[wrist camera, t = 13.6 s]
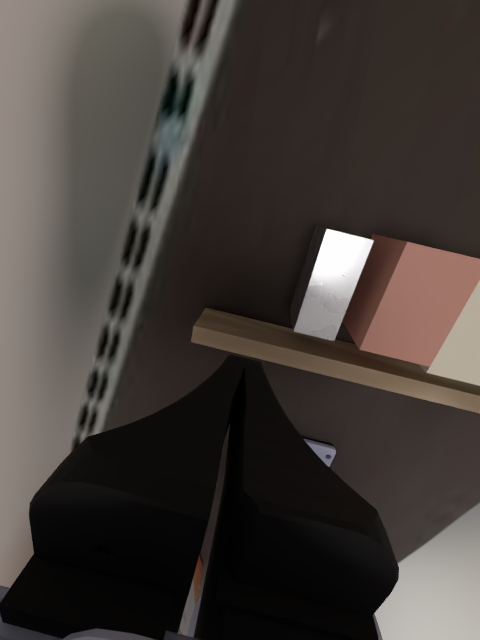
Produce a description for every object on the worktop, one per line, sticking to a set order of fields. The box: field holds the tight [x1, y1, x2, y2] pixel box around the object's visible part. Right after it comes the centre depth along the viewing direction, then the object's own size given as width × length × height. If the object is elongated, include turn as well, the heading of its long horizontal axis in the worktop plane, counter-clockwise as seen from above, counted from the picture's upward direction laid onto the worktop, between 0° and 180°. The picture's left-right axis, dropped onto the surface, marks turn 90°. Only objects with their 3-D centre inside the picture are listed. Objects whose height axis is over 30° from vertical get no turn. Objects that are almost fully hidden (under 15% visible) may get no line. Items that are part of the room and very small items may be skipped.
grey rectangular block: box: [290, 225, 374, 341], centre depth 17 cm, size 6×2×4 cm, turn 168°
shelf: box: [191, 308, 480, 413], centre depth 16 cm, size 10×24×7 cm, turn 78°
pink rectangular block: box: [342, 234, 480, 367], centre depth 16 cm, size 6×4×5 cm, turn 168°
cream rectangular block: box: [419, 280, 480, 386], centre depth 17 cm, size 6×4×5 cm, turn 168°
